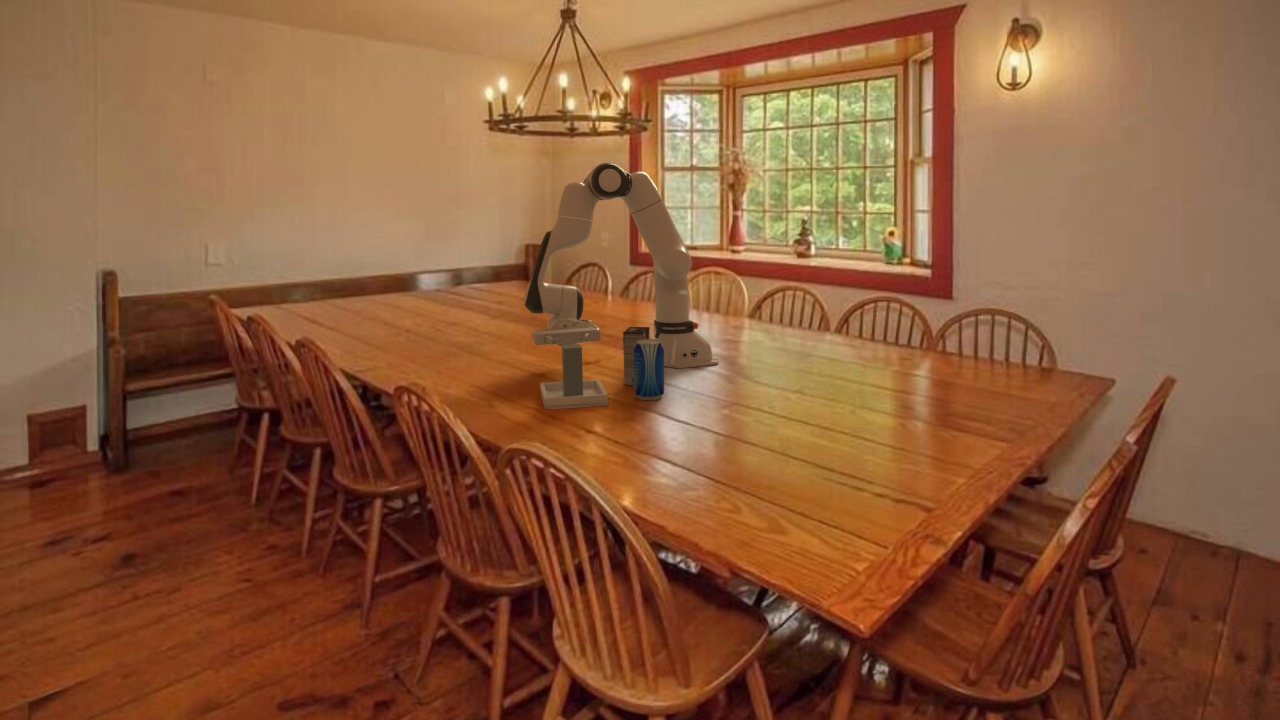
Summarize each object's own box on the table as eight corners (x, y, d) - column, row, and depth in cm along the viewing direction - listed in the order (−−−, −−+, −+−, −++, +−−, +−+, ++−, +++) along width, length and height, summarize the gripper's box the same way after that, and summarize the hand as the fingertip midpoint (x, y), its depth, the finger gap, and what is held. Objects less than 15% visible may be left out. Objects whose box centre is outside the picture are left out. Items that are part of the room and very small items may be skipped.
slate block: (581, 392, 222) (579, 344, 218) (583, 397, 217) (581, 347, 214) (563, 393, 221) (561, 345, 218) (565, 398, 216) (563, 348, 213)
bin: (599, 389, 229) (598, 379, 228) (608, 405, 212) (607, 394, 212) (540, 392, 226) (540, 382, 225) (544, 409, 209) (544, 398, 209)
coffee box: (630, 377, 242) (629, 326, 238) (650, 378, 241) (650, 326, 237) (623, 385, 233) (622, 331, 230) (644, 385, 232) (644, 332, 228)
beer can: (633, 393, 224) (632, 338, 220) (662, 392, 224) (662, 338, 221) (635, 402, 215) (634, 345, 212) (665, 401, 216) (665, 344, 213)
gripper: (530, 324, 242) (533, 332, 229) (595, 319, 246) (602, 327, 232) (531, 344, 243) (534, 353, 230) (596, 339, 247) (603, 348, 234)
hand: (569, 340), depth 231 cm, fingers open, 8 cm apart
